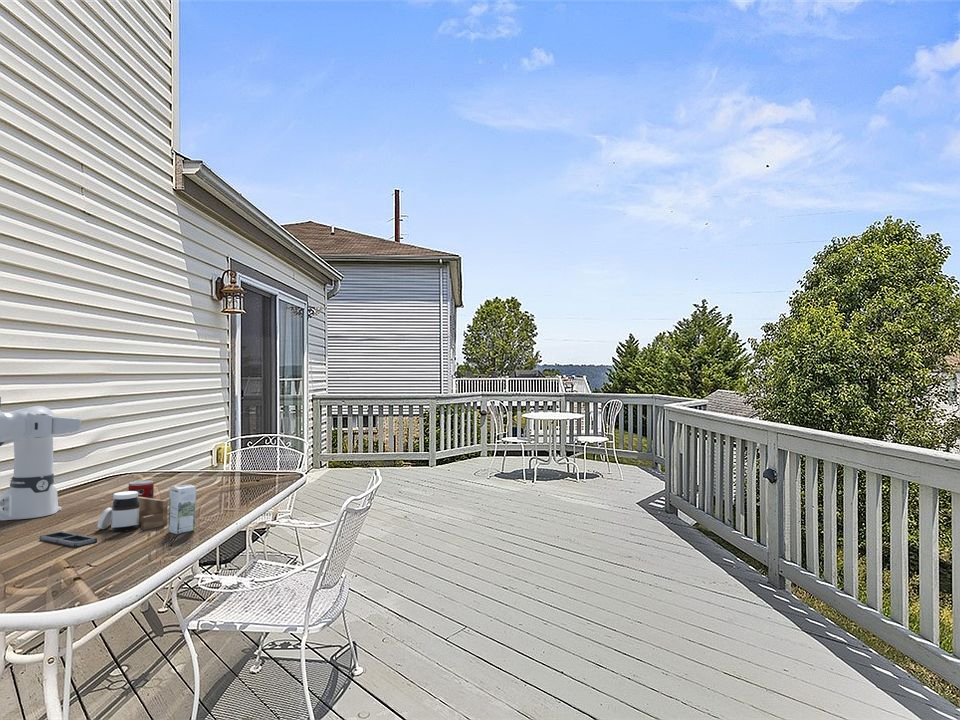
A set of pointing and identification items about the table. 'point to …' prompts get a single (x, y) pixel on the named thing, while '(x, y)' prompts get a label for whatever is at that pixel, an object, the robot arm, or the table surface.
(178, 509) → the syrup box
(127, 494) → the spread jar
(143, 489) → the canned food
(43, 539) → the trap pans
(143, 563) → the table surface
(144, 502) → the brown box
